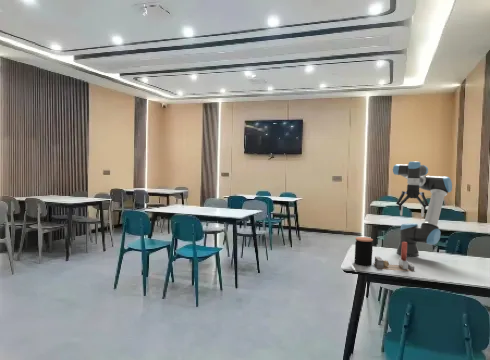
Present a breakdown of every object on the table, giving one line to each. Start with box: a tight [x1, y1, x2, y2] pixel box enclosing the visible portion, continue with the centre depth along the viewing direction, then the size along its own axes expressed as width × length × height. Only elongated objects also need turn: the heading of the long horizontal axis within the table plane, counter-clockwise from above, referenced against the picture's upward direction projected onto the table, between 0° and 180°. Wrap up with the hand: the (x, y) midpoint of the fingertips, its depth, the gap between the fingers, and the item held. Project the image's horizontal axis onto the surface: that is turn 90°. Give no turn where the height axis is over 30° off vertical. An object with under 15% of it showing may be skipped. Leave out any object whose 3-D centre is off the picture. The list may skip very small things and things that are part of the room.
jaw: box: [398, 242, 409, 269], centre depth 229 cm, size 9×3×16 cm, turn 173°
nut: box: [383, 260, 390, 267], centre depth 231 cm, size 4×4×4 cm
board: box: [372, 256, 416, 272], centre depth 230 cm, size 13×22×6 cm, turn 83°
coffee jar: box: [354, 236, 374, 267], centre depth 236 cm, size 11×11×18 cm
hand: (411, 215), depth 245 cm, fingers open, 13 cm apart
